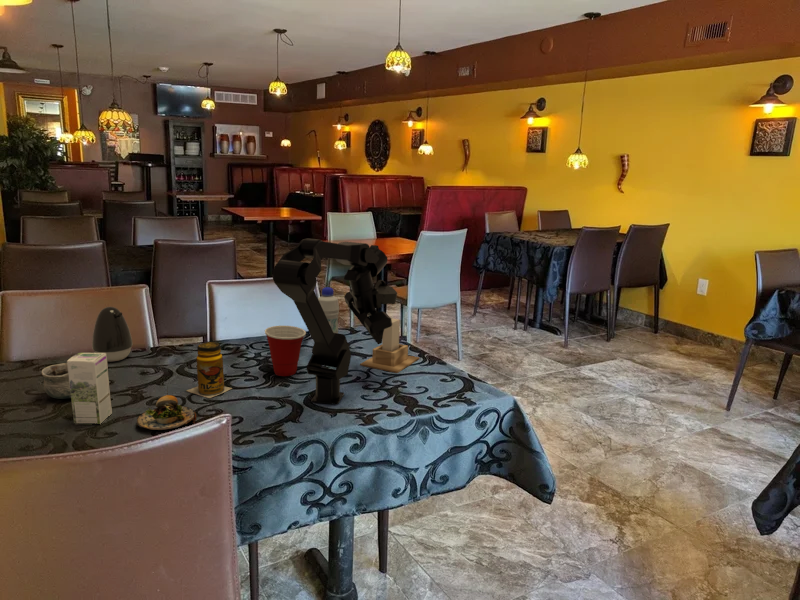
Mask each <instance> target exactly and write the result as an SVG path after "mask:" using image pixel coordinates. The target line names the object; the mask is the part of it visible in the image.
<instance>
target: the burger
mask: <svg viewBox="0 0 800 600" xmlns="http://www.w3.org/2000/svg"><path fill="white" fill-rule="evenodd" d="M166 387H167V391H166V395H163V396H161V397H160V398H158V400H157V401H156V403H155V408H152V409H151V408H150V407H148V409H146V410H145V411H144V412H143V413H141V414H140V415H139V416H137V418H136V427H137V428H138V427H139V428H144V429H148V430H154V431H155V430H158V431H163V430H171V429H176V428H178V427H181V426H183V425H187V424H188V423H190V422H191V421H192V422H191V424H192V423H194V424H195V423H196V421H197V413H196V411H195V410H194V409H193V408H192V407H191V408H190V407H188V406H183V405H181V404H179V402H178V401H179V400H178V398H177V397H176V396H175V395H170V394H168V390H169V388H168V387H169V386H166Z"/></svg>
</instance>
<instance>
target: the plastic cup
mask: <svg viewBox="0 0 800 600" xmlns="http://www.w3.org/2000/svg"><path fill="white" fill-rule="evenodd" d="M264 334H265V336H266V337H267V342H268V346H269V347H268V348H269V353H270V358H271V363H272V367H273V372H274V374H275V375H276V376H279V377H290V376H293V375H295V374H296V373H297V371H298V365H299V364H298V363H299V360H300V356H301V355H300V353H301V348H302V343H303V340H304V337H305V336H306V334H307V332H306V330H304V329H303V328H300V327H299V326H298V327H297V326H293V325H273V326H269V327H267V328H265V330H264Z"/></svg>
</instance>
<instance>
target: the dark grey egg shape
mask: <svg viewBox="0 0 800 600" xmlns="http://www.w3.org/2000/svg"><path fill="white" fill-rule="evenodd" d="M130 330H131V329H130V327H129V325H128V323H127V320H126V319H125V316H124V314H123V312H122V311H120V310H119V309H118V308H117V307H115V306H106V307H104V308H102V309H101V310H100V311H99V313H98V315H97V317H96V319H95V323H94V326H93V332H92V339H91V349H92V351H94V352H93V353H106V357H107V363H110V362H111V363H112V362H119V361H122V360H124V359H126V358H127V357H128V356H129V354H130V352H131V351H132V347H133V345H134V344H133V338H132V334H131V331H130Z"/></svg>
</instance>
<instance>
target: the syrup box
mask: <svg viewBox="0 0 800 600" xmlns="http://www.w3.org/2000/svg"><path fill="white" fill-rule="evenodd" d="M66 363H67V366H68V375H69V384H70V393H71V398H70V399H71V408H72V409H71V410H72V415H73V416H72V417H73V424H74V423H95V424H96V423H97V424H100V425H102V424H103V423H104V422H105V421H106V420H107V419H106V418H107V417H108V416H110V415H111V414H112V415H113V409H112V401H111V391H110V382H109V368H108V362H107V357H106V353H95V352H78V353H76V354H74V355H73V356H71V357H70V358H68V360H66ZM112 415H111V416H112ZM111 416H110V417H111ZM105 419H106V420H105ZM104 420H105V421H104ZM103 421H104V422H103ZM102 422H103V423H102ZM101 423H102V424H101Z"/></svg>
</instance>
